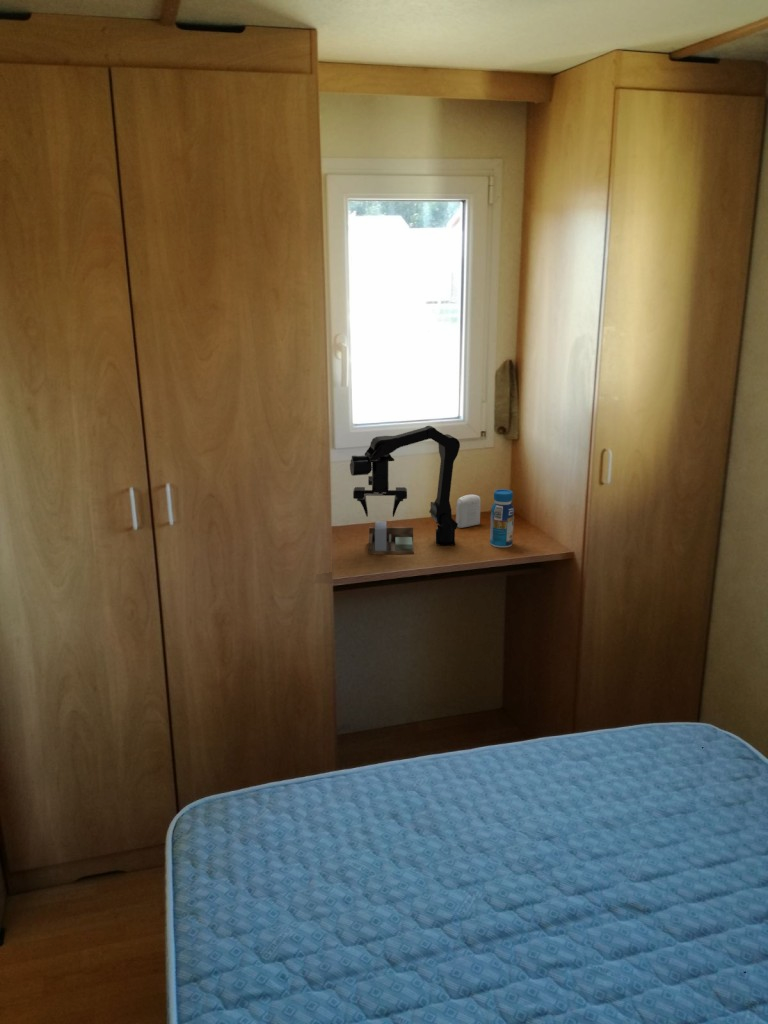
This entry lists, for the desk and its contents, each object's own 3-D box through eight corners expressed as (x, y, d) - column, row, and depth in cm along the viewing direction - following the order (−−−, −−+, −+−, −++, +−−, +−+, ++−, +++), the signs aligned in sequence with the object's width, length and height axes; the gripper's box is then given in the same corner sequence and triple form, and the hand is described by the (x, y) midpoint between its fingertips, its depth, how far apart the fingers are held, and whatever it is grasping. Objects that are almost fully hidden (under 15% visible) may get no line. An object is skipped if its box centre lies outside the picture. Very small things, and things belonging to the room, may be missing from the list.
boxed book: (386, 542, 285) (386, 521, 283) (386, 550, 276) (386, 529, 274) (375, 542, 285) (375, 521, 283) (374, 550, 276) (374, 529, 274)
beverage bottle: (485, 541, 288) (487, 489, 282) (506, 539, 291) (508, 487, 285) (495, 549, 280) (497, 495, 275) (516, 546, 283) (519, 493, 277)
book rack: (413, 542, 288) (413, 526, 286) (413, 553, 276) (414, 537, 274) (369, 542, 288) (369, 526, 286) (368, 553, 276) (368, 537, 275)
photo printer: (474, 521, 311) (475, 491, 307) (481, 524, 308) (482, 494, 304) (454, 526, 306) (454, 495, 302) (460, 529, 302) (461, 498, 299)
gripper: (406, 468, 280) (406, 509, 285) (354, 467, 281) (354, 509, 285) (407, 475, 270) (406, 519, 274) (353, 475, 270) (353, 518, 274)
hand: (380, 516), depth 277 cm, fingers open, 9 cm apart
